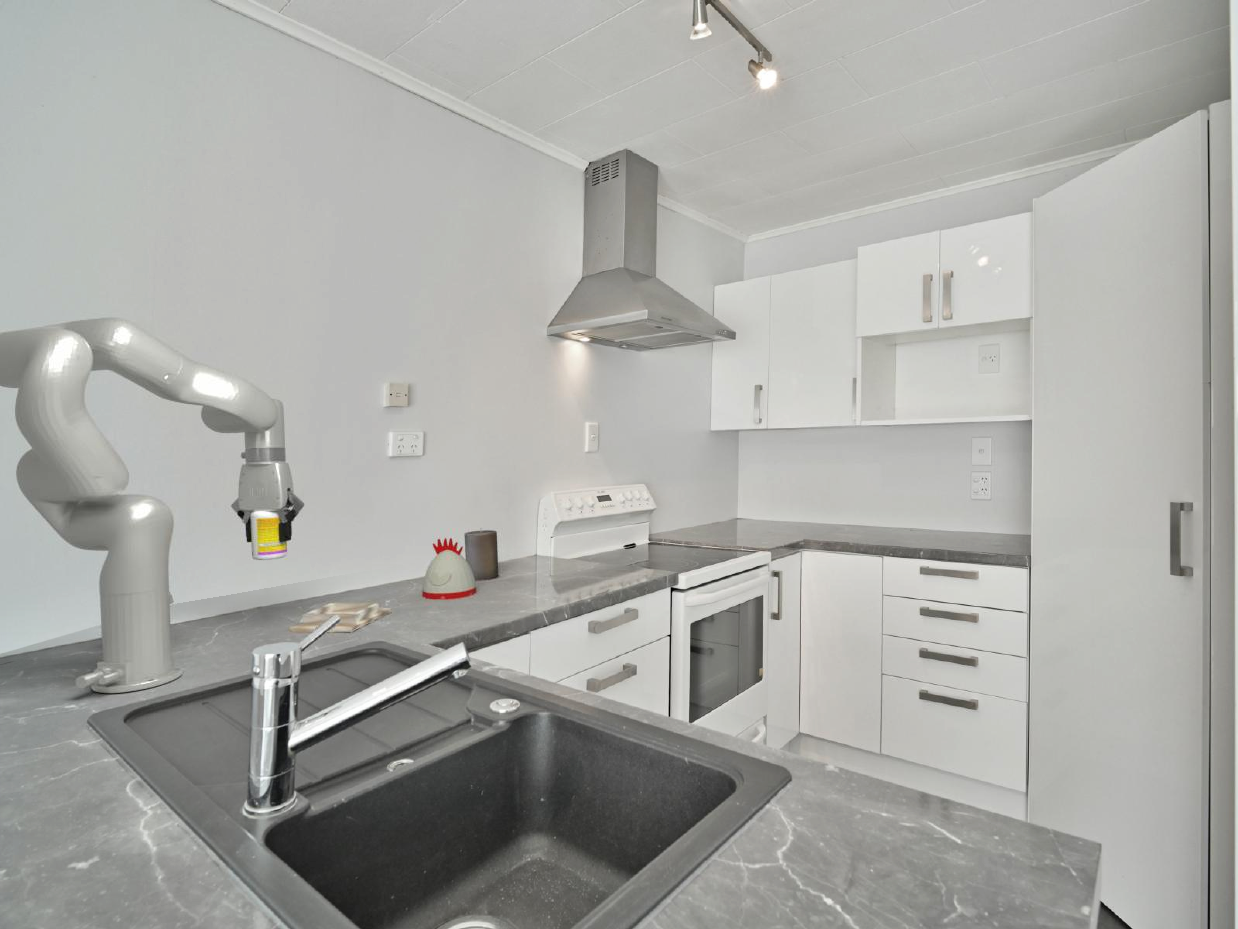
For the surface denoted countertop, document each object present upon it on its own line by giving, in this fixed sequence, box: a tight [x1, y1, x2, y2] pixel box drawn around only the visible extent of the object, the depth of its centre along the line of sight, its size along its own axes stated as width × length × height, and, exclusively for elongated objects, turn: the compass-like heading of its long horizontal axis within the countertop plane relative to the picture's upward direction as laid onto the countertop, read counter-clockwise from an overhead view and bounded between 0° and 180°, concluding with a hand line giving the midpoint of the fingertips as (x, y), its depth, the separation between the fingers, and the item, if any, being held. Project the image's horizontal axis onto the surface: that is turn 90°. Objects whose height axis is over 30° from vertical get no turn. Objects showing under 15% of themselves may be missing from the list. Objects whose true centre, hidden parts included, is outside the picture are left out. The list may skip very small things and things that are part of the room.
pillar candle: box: [464, 527, 500, 581], centre depth 202 cm, size 10×10×15 cm
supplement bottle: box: [250, 511, 288, 561], centre depth 142 cm, size 7×7×13 cm
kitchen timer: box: [421, 537, 477, 601], centre depth 179 cm, size 14×14×15 cm
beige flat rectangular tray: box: [289, 601, 392, 634], centre depth 152 cm, size 18×14×3 cm
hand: (269, 540), depth 142 cm, fingers closed on supplement bottle, 6 cm apart
